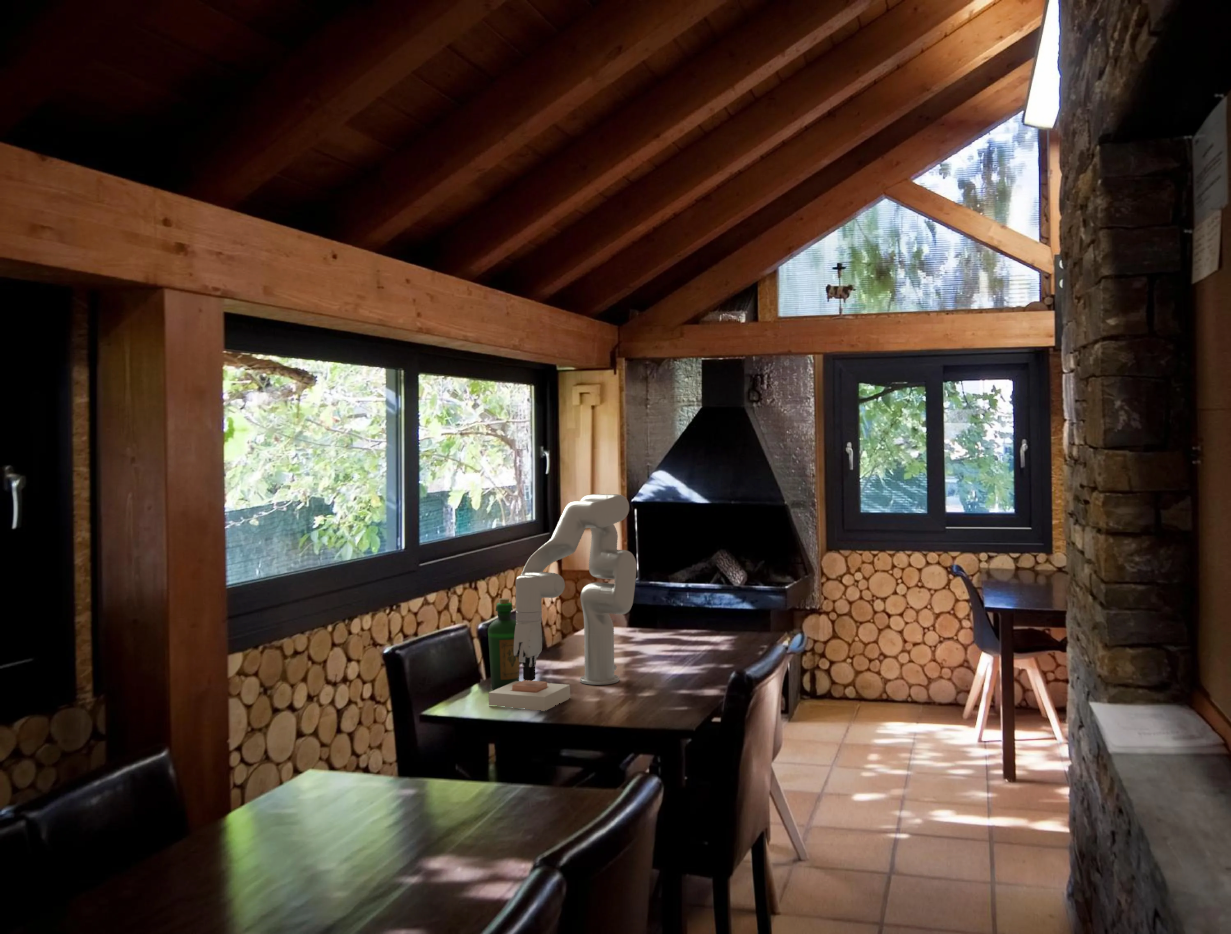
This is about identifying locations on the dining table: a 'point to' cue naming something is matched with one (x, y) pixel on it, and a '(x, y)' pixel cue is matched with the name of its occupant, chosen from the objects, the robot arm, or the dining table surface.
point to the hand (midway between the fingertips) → (529, 679)
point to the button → (529, 686)
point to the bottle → (503, 647)
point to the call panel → (530, 697)
